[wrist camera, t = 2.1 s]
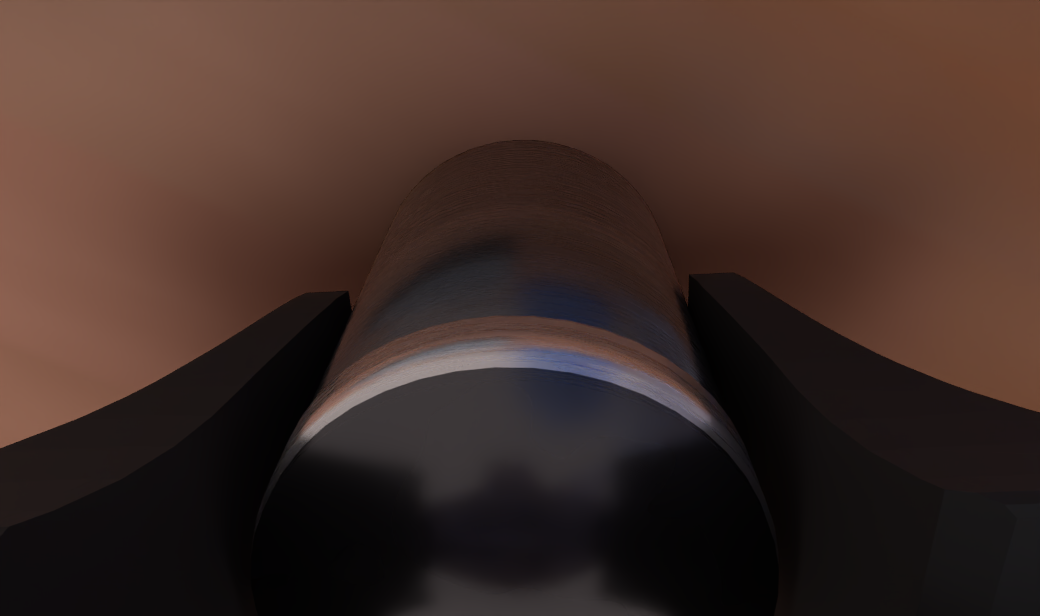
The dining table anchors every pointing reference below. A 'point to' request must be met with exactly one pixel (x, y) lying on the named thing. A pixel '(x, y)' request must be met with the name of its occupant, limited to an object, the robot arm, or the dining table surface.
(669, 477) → the lens
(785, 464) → the robot arm
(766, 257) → the dining table surface
